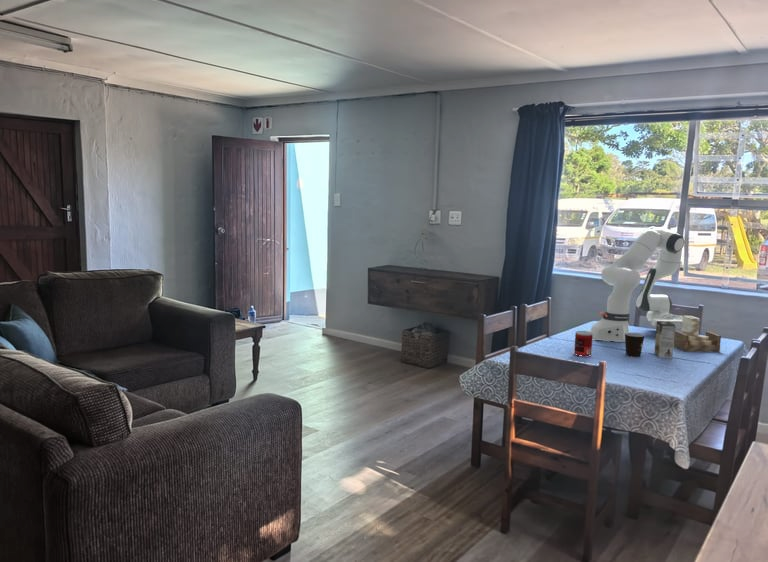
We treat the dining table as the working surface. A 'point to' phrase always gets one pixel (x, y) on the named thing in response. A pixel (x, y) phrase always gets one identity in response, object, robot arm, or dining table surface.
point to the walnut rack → (682, 344)
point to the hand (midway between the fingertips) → (678, 325)
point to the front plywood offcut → (699, 342)
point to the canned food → (583, 343)
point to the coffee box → (664, 339)
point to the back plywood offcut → (698, 338)
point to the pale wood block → (690, 325)
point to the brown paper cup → (634, 344)
